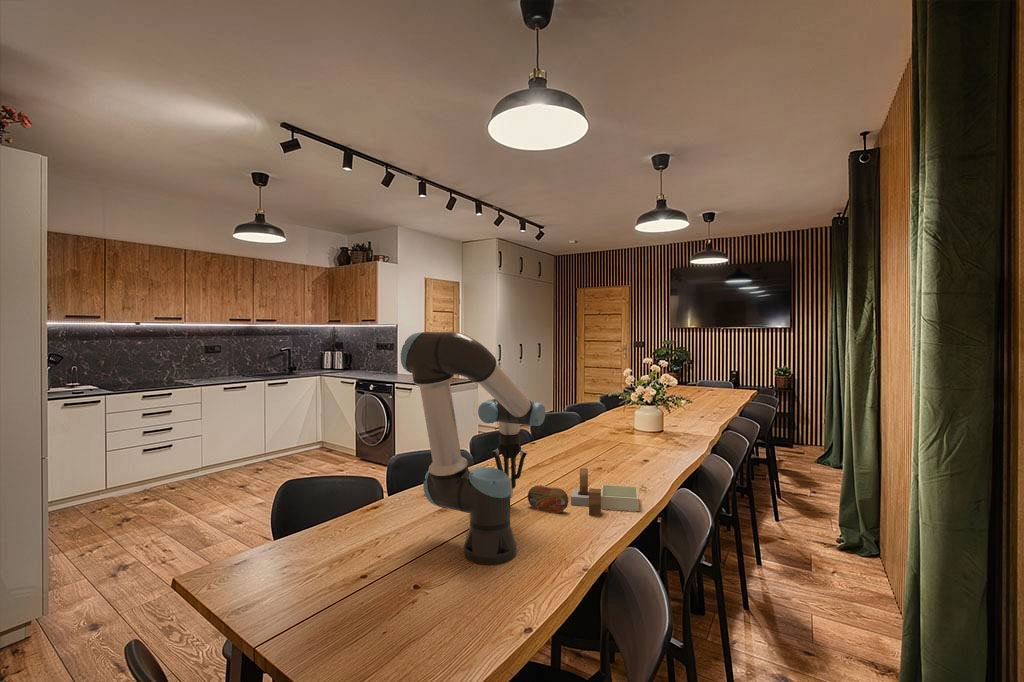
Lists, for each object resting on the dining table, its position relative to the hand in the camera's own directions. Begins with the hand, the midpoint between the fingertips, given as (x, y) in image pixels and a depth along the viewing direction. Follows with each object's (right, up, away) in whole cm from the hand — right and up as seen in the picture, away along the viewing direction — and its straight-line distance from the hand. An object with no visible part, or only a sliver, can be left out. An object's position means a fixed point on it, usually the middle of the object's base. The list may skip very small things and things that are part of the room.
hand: (510, 496), depth 173 cm
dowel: (+28, -3, +5) cm, 28 cm away
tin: (+14, -4, -3) cm, 14 cm away
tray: (+40, -3, +2) cm, 40 cm away
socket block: (+28, -3, +5) cm, 28 cm away
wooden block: (+30, -4, -7) cm, 31 cm away
